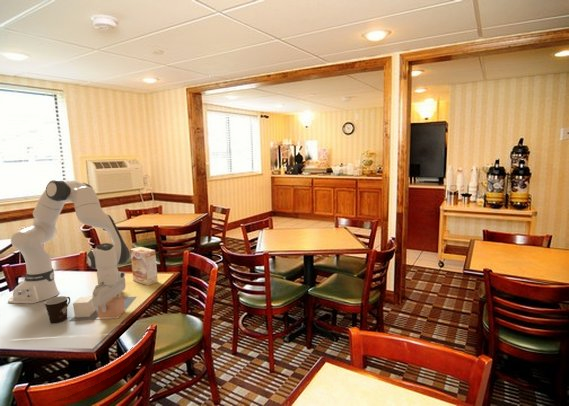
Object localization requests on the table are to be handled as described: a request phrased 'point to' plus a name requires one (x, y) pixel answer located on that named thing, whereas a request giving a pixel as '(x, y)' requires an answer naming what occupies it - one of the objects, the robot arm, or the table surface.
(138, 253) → the coffeecake box
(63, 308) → the coffee mug
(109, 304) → the salmon rectangular box
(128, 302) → the mat
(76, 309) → the pale beige cube
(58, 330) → the table surface
